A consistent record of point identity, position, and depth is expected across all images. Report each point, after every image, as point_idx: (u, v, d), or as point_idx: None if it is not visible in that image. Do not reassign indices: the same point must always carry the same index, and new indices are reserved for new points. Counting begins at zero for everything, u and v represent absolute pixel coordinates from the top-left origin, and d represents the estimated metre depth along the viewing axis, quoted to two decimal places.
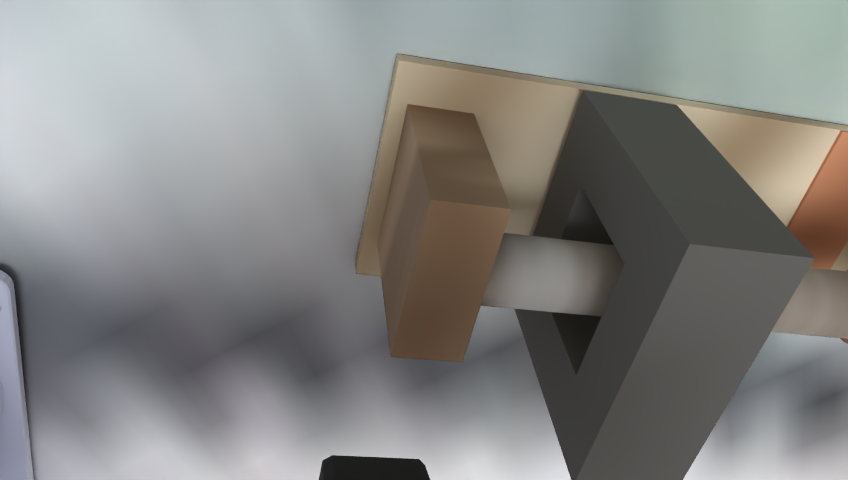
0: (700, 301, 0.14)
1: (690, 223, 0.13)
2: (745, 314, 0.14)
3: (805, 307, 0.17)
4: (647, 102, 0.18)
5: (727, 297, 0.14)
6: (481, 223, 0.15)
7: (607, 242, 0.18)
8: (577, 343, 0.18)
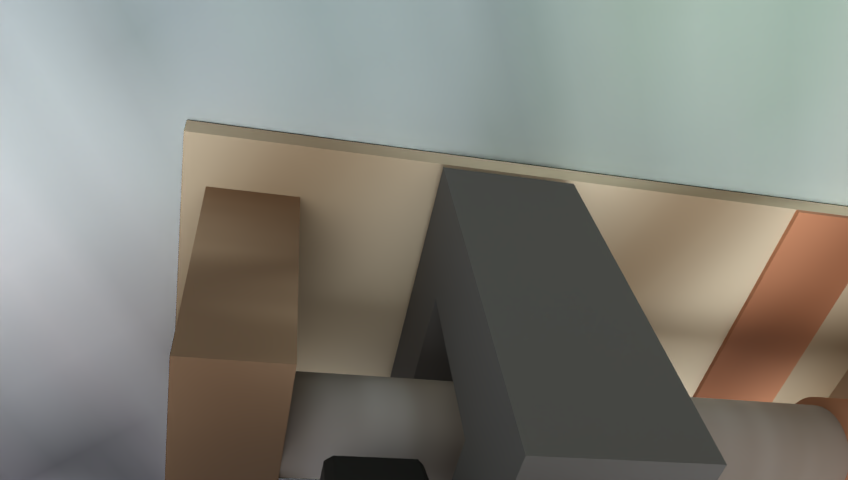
0: None
1: (538, 409, 0.09)
2: None
3: (741, 467, 0.13)
4: (533, 181, 0.14)
5: None
6: (255, 383, 0.10)
7: None
8: None
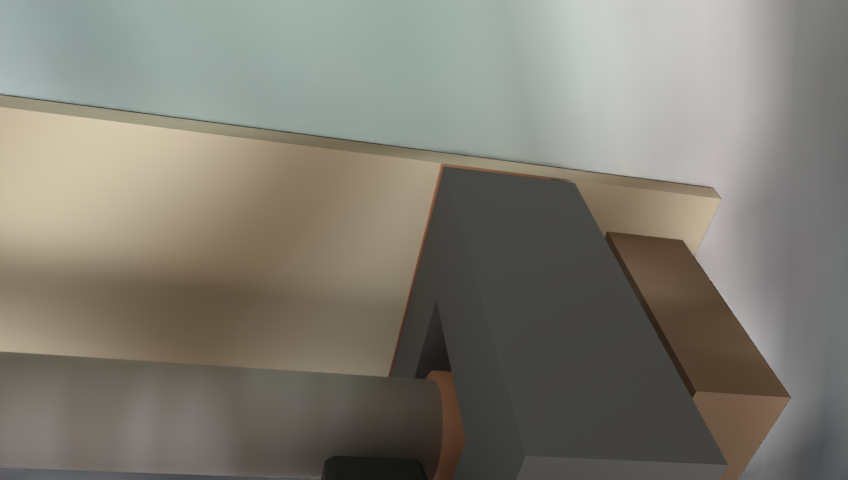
0: None
1: (538, 409, 0.09)
2: None
3: (302, 446, 0.11)
4: (533, 180, 0.14)
5: None
6: None
7: None
8: None
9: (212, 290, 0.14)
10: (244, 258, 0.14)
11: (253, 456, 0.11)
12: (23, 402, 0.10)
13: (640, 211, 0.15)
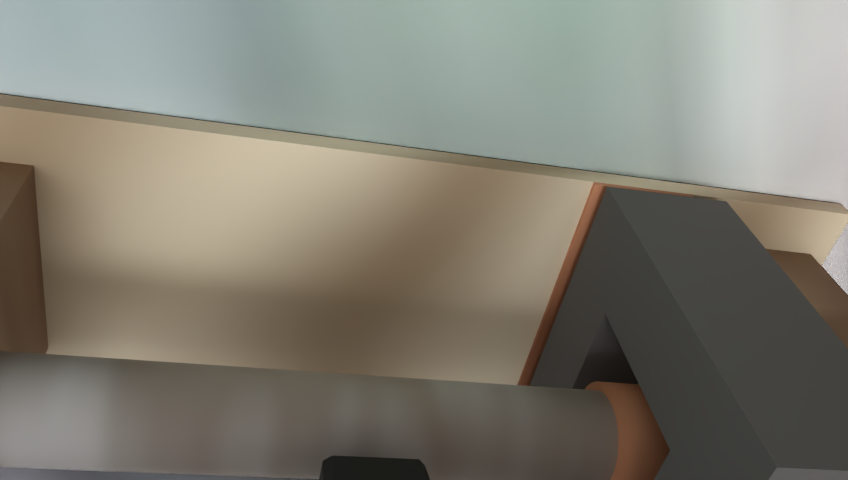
0: None
1: (772, 423, 0.09)
2: None
3: (491, 455, 0.12)
4: (688, 199, 0.14)
5: None
6: None
7: None
8: None
9: (363, 302, 0.15)
10: (397, 272, 0.15)
11: (446, 464, 0.12)
12: (240, 413, 0.11)
13: (774, 226, 0.15)
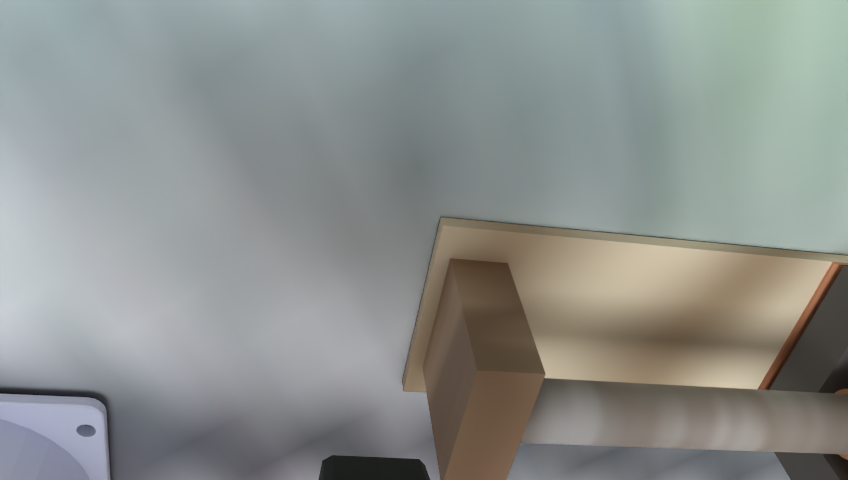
0: None
1: None
2: None
3: (801, 434, 0.20)
4: None
5: None
6: (520, 385, 0.18)
7: None
8: (846, 474, 0.22)
9: (674, 338, 0.23)
10: (699, 319, 0.23)
11: (775, 439, 0.20)
12: (667, 411, 0.19)
13: None
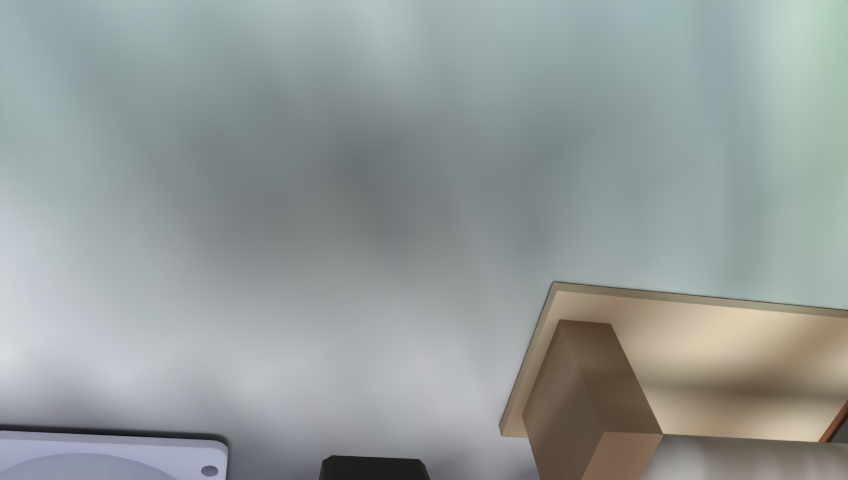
0: None
1: None
2: None
3: None
4: None
5: None
6: (639, 444, 0.19)
7: None
8: None
9: (752, 390, 0.25)
10: (777, 373, 0.25)
11: None
12: (763, 465, 0.21)
13: None
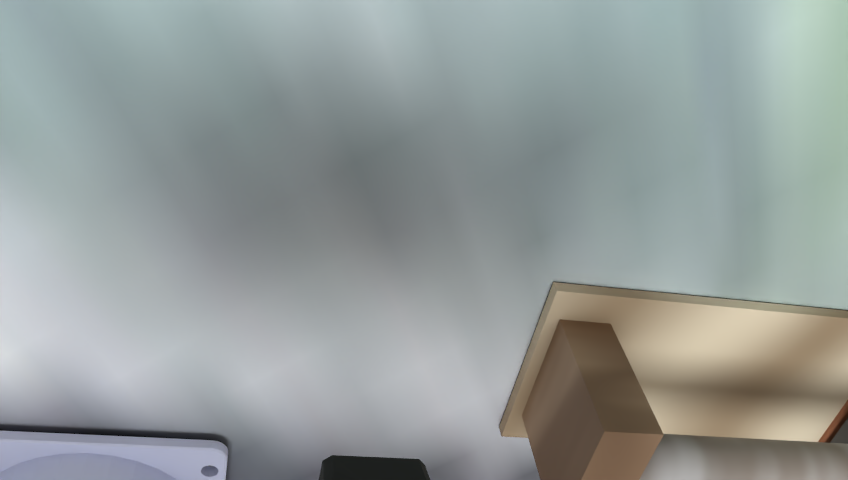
0: None
1: None
2: None
3: None
4: None
5: None
6: (639, 444, 0.19)
7: None
8: None
9: (752, 390, 0.25)
10: (777, 373, 0.25)
11: None
12: (763, 465, 0.21)
13: None
